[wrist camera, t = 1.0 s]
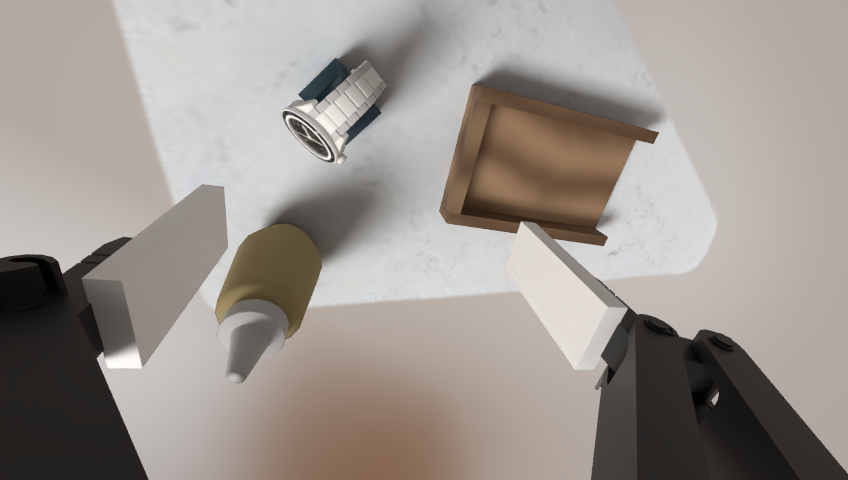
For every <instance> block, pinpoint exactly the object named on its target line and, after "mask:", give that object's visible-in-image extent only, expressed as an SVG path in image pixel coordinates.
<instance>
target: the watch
mask: <svg viewBox="0 0 848 480" xmlns="http://www.w3.org/2000/svg"><path fill="white" fill-rule="evenodd" d="M351 73H352V74H351V75H350V74H349V72H348V71H347V70H346V69H345V68H344V66H343V65H342V64H341V63H340V62H339V60H338V59H337V58H335V59H334V60H333V61H332V62H331V63H330V64H329V65H328V66H327V67H326V68H325V69H324V70H323V71H322V72H321V73H320V74H319V75H318V76H317V77H316V78H315V79H314V80H313V81H312V82H311V83H310V84H309V85H307V86H306V87H305V88H304V89H303V90H302V91H301V92H300V93H299V94H298V95H299V96H300V97H301V98H302V99H303V100H304V101H303V100H297V101H294V102H293V103H292V104H291V105H290V106H288V107H286V108H284V109H283V110H282V117H283V120H284V122H285V124H286V125H287V127H288V129H289V130H290V131H291V133H292V134H293V135H294V136H295V138H296V139H297V140H298V141H299V142H300V143H301V144H302V145H303V146H304V147H305V148H306V149H308V150H309V151H310V152H311V153H312V154H314V155H315V156H317V157H318V158H320V159H322V160H323V161H326V162H328V163H335V162H336V161H337V162H338V163H339V164H341V163H342V162H344V161H345V159H346V158H347V157H346V156H345V155H344V154H342V153H343V152H344V150H345V145H347V144H348V143H349V142H350V141H351V140H353V139H354V138H355V137H356V136H357V135H358V134H359V133H360V132H361V131H362V130H363V129H365V128H366V127H367V126H368V125H369V124H370V123H371V122H372V121H373V120H374V119H375V118H376V117H378V116H379V115H380V114H381V111H380V110H379V109H378V107H377V106H376V105H375V104H374V102H375V101H376V100H377V98H378V97H379V96H380V94H381V93H382V91H383V90H384V89H385V87H386V86H387V84H386V83H385V81H384V80H383V78H382V77H381V75H380V74H379V73H378V71H377V70H376V69H375V68H374V67H373V66H372V64H371V63H370V62H369V61H368V60H365V61H364V62H363V63H362V64H361V65H360V66H359V67H358V68H357V69H356V70H355V69H353V70H352V71H351Z"/></svg>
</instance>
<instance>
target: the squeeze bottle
mask: <svg viewBox="0 0 848 480" xmlns="http://www.w3.org/2000/svg"><path fill="white" fill-rule="evenodd" d="M321 268H322V264H321V258H320V253H319V251H318V249H317V248H316V246H315V244H314V242H313V241H312V239H311V238H310V236H309V235H308V233H307V232H305V231H304V230H302V229H301V228H299V227H298V226H294V225H290V224H275V225H272V226H269V227H266V228H263V229H261V230H259V231H257V232H255V233H253V234H250V235H248V237H247V238H246V239H245V240H244V241H243V242H242V244H241V245H240V246H239V248H238V250H237V252H236V255H235V257H234V260H233V262H232V265H231V267H230V270H229V272H228V275H227V277H226V280H225V282H224V285H223V287H222V290H221V292H220V295H219V297H218V300H217V305H216V310H215V314H216V317H217V320H218V323H219V325H218V330H217V335H216V336H217V339H218V342H219V344H220V346H221V347H222V348H223V349H224V350H225V351H226V352H227V353H228V354H229V355H228V363H227V370H226V380H227V381H228V382H230V383H234V384H239V383H242V382H244V380H245V379H246V378H247V376H248V375H249V373H250V372H251V370H252V369H253V368H254V366H255V365H256V363H257V362H258V360H259V359H265V358H267V357H270V356H272V355H274V354H276V353H277V352H278V351H279V350H280V349H281V348H282V347H283V345H284V341H285V340H286V339H288V338H290V337H291V336H292V335H293V334H294V333H295V332H296V331H297V330H298V329H299V328H300V325H301V323H302V320H303V317H304V314H305V312H306V309H307V307H308V304H309V301H310V299H311V296H312V294H313V291H314V288H315V286H316V283H317V280H318V277H319V274H320V271H321Z"/></svg>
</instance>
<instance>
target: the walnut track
mask: <svg viewBox="0 0 848 480" xmlns="http://www.w3.org/2000/svg"><path fill="white" fill-rule="evenodd" d="M658 134H659V132H655V131H652V130H648V129H644V128H640V127H636V126H632V125H629V124H625V123H621V122H617V121H613V120H610V119H606V118H602V117H598V116H594V115H590V114H587V113H583V112H579V111H575V110H571V109H568V108H564V107H560V106H556V105H552V104H548V103H545V102H541V101H537V100H533V99H529V98H526V97H522V96H518V95H514V94H510V93H506V92H503V91H499V90H495V89H491V88H487V87H483V86H475V85H472V87H471V90H470V94H469V98H468V102H467V106H466V110H465V114H464V118H463V121H462V125H461V129H460V133H459V137H458V141H457V145H456V149H455V152H454V156H453V160H452V164H451V168H450V172H449V176H448V180H447V183H446V187H445V191H444V195H443V199H442V203H441V207H440V210H439V212H440V213H441V215H442V217H443V218H444V220H445V222H446V223H448V224H455V225H462V226H469V227H475V228H482V229H489V230H496V231H503V232H510V233H517V232H518V229H519V226H520V223H521V221H524V222H532V223H536V224H537V225H538V226H539V227H540V228H541V229H542V230H544V231H545V232H546V233H547V234H548V235H549V236H550V237H551V238H552V239H558V240H565V241H572V242H579V243H586V244H593V245H600V246H604V244H605V242H606V240H607V238H608V237H607V236H606V235H604V234H602V233H601V232H599V231H598V230H596V229H595V227H596V225H597V223H598V221H599V219H600V216H601V214H602V212H603V210H604V208H605V206H606V204H607V201H608V199H609V197H610V195H611V193H612V191H613V189H614V186H615V184H616V182H617V180H618V178H619V176H620V173H621V171H622V169H623V167H624V165H625V163H626V161H627V158H628V156H629V154H630V152H631V150H632V148H633V146H634V143H635V141H636V140H639V141H643V142H647V143H651V144H654V142H655V140H656V138H657V136H658Z"/></svg>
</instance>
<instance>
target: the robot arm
mask: <svg viewBox="0 0 848 480" xmlns="http://www.w3.org/2000/svg"><path fill="white" fill-rule="evenodd" d="M227 248H228V239H227V225H226V211H225V197H224V187H220V186H212V185H203V184H202V185H201V186H200V187H198V188H197V189H196V190H194V191H193V192H192V193H191V194H189V195H188V196H187V197H185V198H184V199H183V200H182V201H180V202H179V203H178V204H176V205H175V206H174V207H173V208H171V209H170V210H169V211H167V212H166V213H165V214H164V215H162V216H161V217H160V218H159V219H157V220H156V221H155V222H153V223H152V224H151V225H149V226H148V227H147V228H146V229H144V230H143V231H142V232H141V233H139V234H138V235H137V236H135V237H134V238H128V237H122V238H119V239H117V240H114V241H112V242H109V243H106V244H104V245H103V246H101V247H100V248H98V249H97V250H96V251H94V252H93V253H92V255H89V256H87V257H86V258H84V259H83V260H82V261H81V263H77V264H76V265H75V266H73V267H72V268H70V269H69V270H68V271H66V272H65V273H63V274H62V272H61V269H60V266H59V263H58V261H57V260H56V259H54V258H53V257H50V256H45V255H30V254H26V255H18V256H9V257H4V258H0V480H148V477H147V475H146V473H145V470H144V468H143V466H142V464H141V461H140V459H139V456H138V454H137V452H136V450H135V447H134V445H133V443H132V440H131V438H130V435H129V433H128V431H127V428H126V426H125V424H124V422H123V419H122V417H121V414H120V412H119V410H118V407H117V405H116V403H115V400H114V398H113V396H112V393H111V391H110V389H109V387H108V384H107V382H106V379H105V377H104V375H103V373H102V370H101V368H100V366H99V363H98V361H97V359H96V358H97V357H98V356H99V355H100V354H101V353H102V352H103V353H104V357H105V360H106V363H107V367H108V368H143V366H144V365H145V364H146V362H147V361H148V359H149V358H150V357H151V355H152V354H153V352H154V351H155V350H156V348H157V347H158V345H159V344H160V343H161V341H162V340H163V338H164V337H165V335H166V334H167V333H168V331H169V330H170V328H171V327H172V326H173V324H174V323H175V321H176V320H177V319H178V317H179V316H180V314H181V313H182V311H183V310H184V309H185V307H186V306H187V305H188V303H189V302H190V300H191V299H192V298H193V296H194V295H195V293H196V292H197V291H198V289H199V288H200V286H201V285H202V283H203V282H204V281H205V279H206V278H207V276H208V275H209V274H210V272H211V271H212V269H213V268H214V267H215V265H216V264H217V262H218V261H219V260H220V258H221V257H222V255H223V254H224V252H225V251H226V250H227ZM505 270H506V271H507V273H508V274H509V276H510V277H511V279H512V280H513V281H514V283H515V284H516V286H517V287H518V289H519V290H520V291H521V293H522V294H523V296H524V297H525V299H526V300H527V301H528V303H529V304H530V306H531V307H532V309H533V310H534V311H535V313H536V314H537V316H538V317H539V319H540V320H541V321H542V323H543V324H544V326H545V327H546V328H547V330H548V331H549V333H550V334H551V336H552V337H553V339H554V340H555V341H556V343H557V344H558V346H559V347H560V349H561V350H562V351H563V353H564V354H565V356H566V357H567V359H568V360H569V361H570V363H571V364H572V366H573V367H574V369H575V370H594V369H595V367H596V365H597V363H598V361H599V359H600V358H601V357H602V358H603V359H604V360H605V361H606V363H607V364H608V366H607V367H606V369H605V371H604V373H603V374H602V376H601V378H600V379H599V381H598V383H597V385H596V386H595V389H597V390H598V389H599V387H602V389H601V397H600V405H599V414H598V423H597V432H596V440H595V449H594V458H593V468H592V476H591V480H848V474H847V473H846V471H845V470H844V469H843V468H842V466H841V465H840V464H839V463H838V462H837V460H836V459H835V458H834V457H833V456H832V454H831V453H830V452H829V451H828V450H827V449H826V448H825V446H824V445H823V444H822V443H821V441H820V440H819V439H818V438H817V437H816V435H815V434H814V433H813V432H812V431H811V430H810V428H809V427H808V426H807V425H806V423H805V422H804V421H803V420H802V419H801V418H800V416H799V415H798V414H797V413H796V411H795V410H794V409H793V408H792V407H791V406H790V404H789V403H788V402H787V401H786V400H785V399H784V397H783V396H782V395H781V394H780V393H779V391H778V390H777V389H776V388H775V386H774V385H773V384H772V383H771V382H770V380H769V379H768V378H767V377H766V376H765V375H764V373H763V372H762V371H761V370H760V368H759V367H758V366H757V365H756V364H755V363H754V361H753V360H752V359H751V358H750V357H749V355H748V354H747V353H746V352H745V351H744V350H743V349H742V348H741V347H740V346H739V345H738V344H737V343H735V342H734V341H732V339H731V338H729V337H727V336H725V335H723V334H721V333H716V332H713V331H710V330H700V331H699V332H698V334H697V335H696V337H695V338H694V339H693V340H690V339H687V338H682V337H679V335H678V334H677V332H676V331H675V330H674V329H673V328H672V327H671V326H670V325H668V324H666V323H665V322H664V321H662V320H659V319H658V318H655V317H652V316H649V315H645V314H644V315H643V314H639V315H637V314H636V313H635V312H634V311H633V310H632V309H631V308H629V307H628V306H627V305H626V304H625V303H624V302H623V301H622V300H621V299H620V298H618V297H617V296H615V294H614V293H613V292H612V291H611V290H608V287H606V286H605V285H604V284H603V283H602V282H601V281H600V280H598V279H597V278H595V277H594V276H593V275H591V274H590V273H589V272H588V271H587V270H586V269H585V268H584V267H583V266H582V265H581V264H579V263H578V262H577V261H576V260H575V259H574V258H573V257H572V256H571V255H570V254H569V253H567V252H566V251H565V250H564V249H563V248H562V247H561V246H560V245H559V244H558V243H557V242H556V241H554V240H553V239H552V238H551V237H550V236H549V235H548V234H547V233H546V232H545V231H544V230H542V229H541V228H540V227H539V226H538V225H537V224H536V223H532V222H524V221H521V223H520V226H519V229H518V232H517V235H516V238H515V241H514V244H513V247H512V250H511V253H510V256H509V258H508V261H507V264H506V267H505ZM718 392H719V397H718V401H717V403H716V404H715V405H713V403H712V401H711V400H712V399H713V398H714V397H715V395H716V394H717V393H718Z"/></svg>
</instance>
